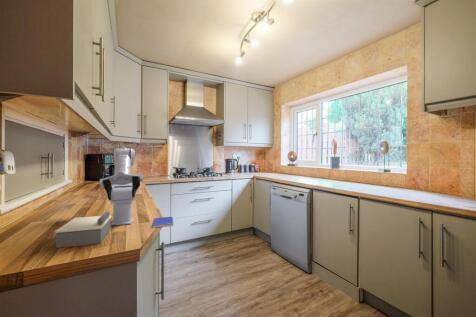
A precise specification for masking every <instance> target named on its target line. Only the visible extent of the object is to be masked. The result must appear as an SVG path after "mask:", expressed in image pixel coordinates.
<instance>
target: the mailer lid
mask: <svg viewBox="0 0 476 317" xmlns="http://www.w3.org/2000/svg"><path fill="white" fill-rule="evenodd" d="M110 218H111V219H112V218H113V214H110V211H105V212H104V213H103V214H102V215H97V216H96V215H95V216H93V215H92V216H82V217H81V216H79V217H73V218H72V219H71V220H69V221H68V222H66V223H65V224H64V225H62V226H60V227H59V228H58V229H56V230H55V231H54V232H55V234H57V233H61V232H72V231H83V230H94V229H102V228H103V226H104V225H105V224H106V223H107V222H108V220H109V219H110Z"/></svg>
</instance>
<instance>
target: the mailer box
mask: <svg viewBox="0 0 476 317" xmlns="http://www.w3.org/2000/svg"><path fill="white" fill-rule="evenodd" d="M111 223H112V217H111V218H110V219H109V220H108V222H107V223H106V224H105V225H104V226H103V228H102V229H94V230H83V231H72V232H61V233H55V234H56V235H55V238H56V239H55V248H56V249H58V248H59V249H60V248H69V247H78V246H87V245H88V246H89V245H96V244H97V245H98V244H102V242H103V241H104V239H105V238H106V237H107V235H108V234H109V232H110V231H111V229H112V225H111Z"/></svg>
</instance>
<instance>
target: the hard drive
mask: <svg viewBox="0 0 476 317" xmlns="http://www.w3.org/2000/svg"><path fill="white" fill-rule="evenodd" d="M173 218H174V217H173V216H163V217H154V219H153V222H152V229H156V228H167V227H168V228H169V227H174V219H173Z"/></svg>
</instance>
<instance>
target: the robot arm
mask: <svg viewBox="0 0 476 317" xmlns="http://www.w3.org/2000/svg"><path fill="white" fill-rule="evenodd" d="M135 154H136V152H135V149H133V148H127V147H126V146H121V147H119V148H118V147H117V148H114V149H113V164H114V174H113V175H110V176H107V177H104V178H100V179H99V185H100V187H103V188H104V190H105V192H106V194H107V199H108V201H109V202H111V203H112V204H113V205H112V206H113V207H112V209H113V211H112V221H111V226H120V225H131V224H132V223H133V221H134V219H135V218H134V217H132V216H133V214H132V213H133V211H132V210H133V205H132V204H133V201H135V199H136V193H137V191H138V190H139V187H141V182H142V183H143V182H144V177H143V174H132V173H131V167H133V166H134V165H135Z"/></svg>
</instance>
